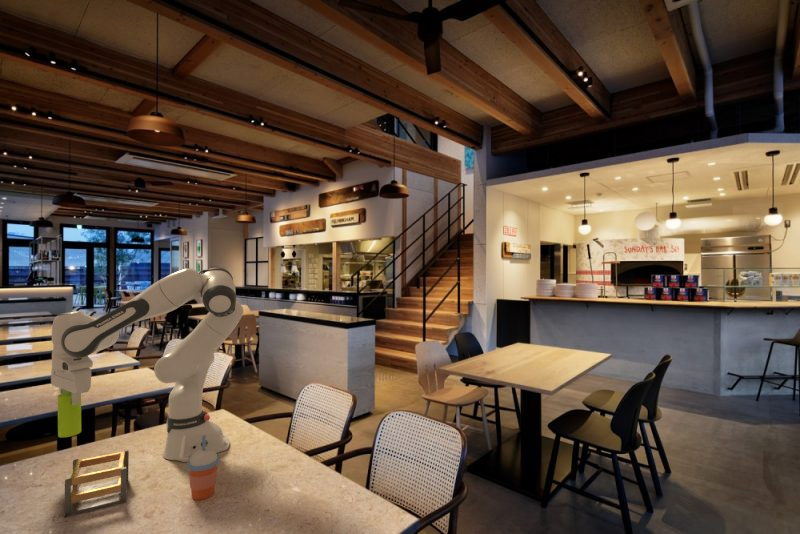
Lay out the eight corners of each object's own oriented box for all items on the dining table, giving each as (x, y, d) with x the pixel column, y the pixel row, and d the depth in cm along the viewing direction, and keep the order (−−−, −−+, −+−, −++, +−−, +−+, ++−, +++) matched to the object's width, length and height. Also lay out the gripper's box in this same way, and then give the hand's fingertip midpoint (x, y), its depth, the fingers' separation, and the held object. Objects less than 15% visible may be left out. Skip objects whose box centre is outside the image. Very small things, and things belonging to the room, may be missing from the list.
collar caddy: (128, 479, 129) (128, 449, 129) (125, 502, 117) (126, 468, 117) (73, 492, 121) (73, 459, 121) (64, 517, 110) (64, 481, 110)
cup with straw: (185, 506, 115) (186, 445, 115) (186, 490, 124) (187, 433, 123) (220, 498, 120) (220, 439, 120) (218, 483, 128) (219, 427, 128)
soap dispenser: (65, 439, 126) (65, 377, 126) (54, 435, 129) (53, 374, 129) (86, 432, 131) (86, 372, 131) (75, 428, 134) (74, 369, 134)
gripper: (44, 359, 133) (45, 400, 133) (71, 366, 122) (71, 411, 122) (67, 355, 138) (68, 394, 138) (95, 362, 128) (95, 405, 128)
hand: (70, 402), depth 130 cm, fingers closed on soap dispenser, 6 cm apart
